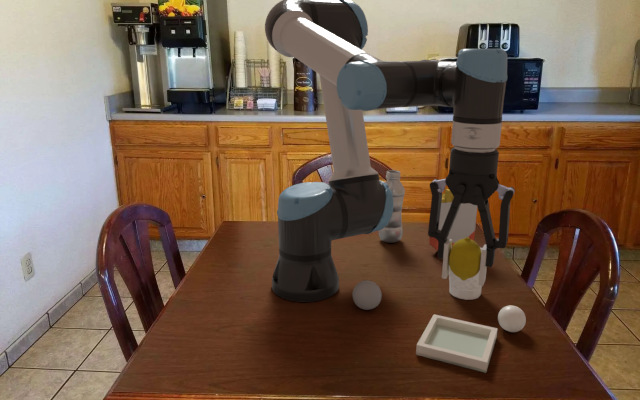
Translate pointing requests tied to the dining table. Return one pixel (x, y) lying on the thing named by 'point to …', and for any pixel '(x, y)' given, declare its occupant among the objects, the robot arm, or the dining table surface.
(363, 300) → the grey rubber ball
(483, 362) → the square dish
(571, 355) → the dining table surface
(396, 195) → the plastic bottle
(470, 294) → the white cup
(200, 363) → the dining table surface
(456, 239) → the french fries container
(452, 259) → the lemon
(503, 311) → the white plastic ball
